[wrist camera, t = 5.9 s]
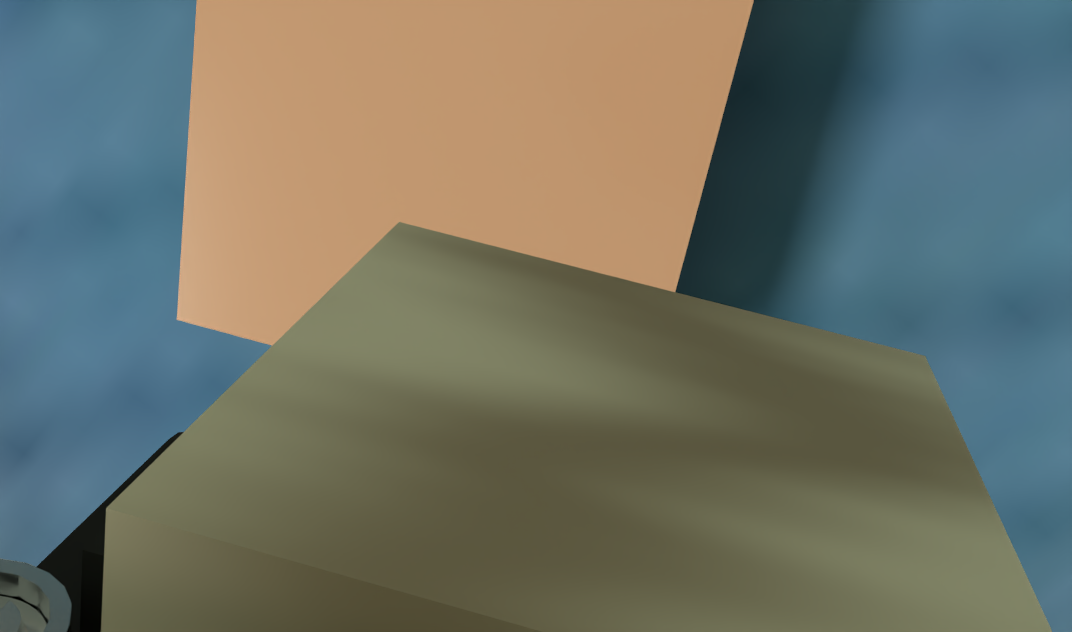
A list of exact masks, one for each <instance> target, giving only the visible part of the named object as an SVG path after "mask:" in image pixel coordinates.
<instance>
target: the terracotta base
mask: <svg viewBox="0 0 1072 632" xmlns="http://www.w3.org/2000/svg"><path fill="white" fill-rule="evenodd" d="M753 2H754V0H197V6H196V22H195V38H194V54H193V70H192V86H191V102H190V118H189V134H188V150H187V167H186V183H185V199H184V215H183V231H182V247H181V263H180V279H179V295H178V311H177V320H180V321H184V322H187V323H191V324H195V325H198V326H202V327H206V328H210V329H213V330H217V331H221V332H224V333H228V334H232V335H235V336H239V337H243V338H247V339H250V340H254V341H258V342H261V343H265V344H269V345H272V346H273V345H274V344H275V343H276V342H277V341H278V340H279V339H280V338H281V337H282V336H283V335H284V334H285V333H286V332H287V331H288V330H289V329H290V328H291V327H292V326H293V325H294V324H295V323H296V322H297V321H298V320H299V319H300V318H301V317H302V316H303V315H304V314H305V313H306V312H307V311H308V310H309V309H310V308H311V307H312V306H313V305H315V304H316V303H317V302H318V301H319V300H320V299H321V298H322V297H323V296H324V295H325V294H326V293H327V292H328V291H329V290H330V289H331V288H332V287H333V286H334V285H335V284H336V283H337V282H338V281H339V280H340V279H341V278H342V277H343V276H344V275H345V274H346V273H347V272H348V271H349V270H350V269H351V268H352V267H353V266H354V265H355V264H356V263H357V262H358V261H360V260H361V259H362V258H363V257H364V256H365V255H366V254H367V253H368V252H369V251H370V250H371V249H372V248H373V247H374V246H375V245H376V244H377V243H378V242H379V241H380V240H381V239H382V238H383V237H384V236H385V235H386V234H387V233H388V232H389V231H390V230H391V229H392V228H393V227H394V226H395V225H396V224H397V223H398V222H402V223H406V224H409V225H413V226H417V227H421V228H425V229H429V230H433V231H437V232H441V233H445V234H449V235H453V236H457V237H460V238H464V239H468V240H472V241H476V242H480V243H484V244H488V245H492V246H496V247H500V248H504V249H507V250H511V251H515V252H519V253H523V254H527V255H531V256H535V257H539V258H543V259H547V260H551V261H555V262H558V263H562V264H566V265H570V266H574V267H578V268H582V269H586V270H590V271H594V272H598V273H602V274H605V275H609V276H613V277H617V278H621V279H625V280H629V281H633V282H637V283H641V284H645V285H649V286H653V287H656V288H660V289H664V290H668V291H672V292H675V291H676V287H677V284H678V280H679V276H680V273H681V269H682V265H683V261H684V258H685V254H686V250H687V247H688V243H689V239H690V235H691V232H692V228H693V224H694V221H695V217H696V213H697V209H698V206H699V202H700V198H701V195H702V191H703V187H704V183H705V180H706V176H707V172H708V169H709V165H710V161H711V157H712V154H713V150H714V146H715V143H716V139H717V135H718V131H719V128H720V124H721V120H722V117H723V113H724V109H725V106H726V102H727V98H728V94H729V91H730V87H731V83H732V80H733V76H734V72H735V68H736V65H737V61H738V57H739V54H740V50H741V46H742V42H743V39H744V35H745V31H746V28H747V24H748V20H749V16H750V13H751V9H752V5H753Z"/></svg>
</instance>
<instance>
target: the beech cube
mask: <svg viewBox="0 0 1072 632" xmlns="http://www.w3.org/2000/svg"><path fill="white" fill-rule="evenodd" d="M101 632H1052V630H1051V628H1050V626H1049V624H1048V621H1047V619H1046V617H1045V615H1044V613H1043V611H1042V608H1041V606H1040V604H1039V602H1038V600H1037V598H1036V595H1035V593H1034V591H1033V589H1032V587H1031V585H1030V582H1029V580H1028V578H1027V576H1026V574H1025V572H1024V569H1023V567H1022V565H1021V563H1020V561H1019V559H1018V556H1017V554H1016V552H1015V550H1014V548H1013V546H1012V543H1011V541H1010V539H1009V537H1008V535H1007V533H1006V530H1005V528H1004V526H1003V524H1002V522H1001V520H1000V517H999V515H998V513H997V511H996V509H995V507H994V504H993V502H992V500H991V498H990V496H989V494H988V491H987V489H986V487H985V485H984V483H983V481H982V478H981V476H980V474H979V472H978V470H977V468H976V465H975V463H974V461H973V459H972V457H971V455H970V452H969V450H968V448H967V446H966V444H965V442H964V439H963V437H962V435H961V433H960V431H959V429H958V426H957V424H956V422H955V420H954V418H953V416H952V413H951V411H950V409H949V407H948V405H947V403H946V401H945V398H944V396H943V394H942V392H941V390H940V387H939V385H938V383H937V381H936V379H935V377H934V375H933V372H932V370H931V368H930V366H929V364H928V362H927V359H926V357H925V356H923V355H919V354H915V353H911V352H907V351H903V350H900V349H896V348H892V347H888V346H884V345H880V344H876V343H872V342H868V341H864V340H860V339H856V338H852V337H849V336H845V335H841V334H837V333H833V332H829V331H825V330H821V329H817V328H813V327H809V326H805V325H802V324H798V323H794V322H790V321H786V320H782V319H778V318H774V317H770V316H766V315H762V314H758V313H754V312H751V311H747V310H743V309H739V308H735V307H731V306H727V305H723V304H719V303H715V302H711V301H707V300H703V299H700V298H696V297H692V296H688V295H684V294H680V293H676V292H672V291H668V290H664V289H660V288H656V287H653V286H649V285H645V284H641V283H637V282H633V281H629V280H625V279H621V278H617V277H613V276H609V275H605V274H602V273H598V272H594V271H590V270H586V269H582V268H578V267H574V266H570V265H566V264H562V263H558V262H555V261H551V260H547V259H543V258H539V257H535V256H531V255H527V254H523V253H519V252H515V251H511V250H507V249H504V248H500V247H496V246H492V245H488V244H484V243H480V242H476V241H472V240H468V239H464V238H460V237H457V236H453V235H449V234H445V233H441V232H437V231H433V230H429V229H425V228H421V227H417V226H413V225H409V224H406V223H402V222H398V223H397V224H396V225H395V226H394V227H393V228H392V229H391V230H390V231H389V232H388V233H387V234H386V235H385V236H384V237H383V238H382V239H381V240H380V241H379V242H378V243H377V244H376V245H375V246H374V247H373V248H372V249H371V250H370V251H369V252H368V253H367V254H366V255H365V256H364V257H363V258H362V259H361V260H360V261H358V262H357V263H356V264H355V265H354V266H353V267H352V268H351V269H350V270H349V271H348V272H347V273H346V274H345V275H344V276H343V277H342V278H341V279H340V280H339V281H338V282H337V283H336V284H335V285H334V286H333V287H332V288H331V289H330V290H329V291H328V292H327V293H326V294H325V295H324V296H323V297H322V298H321V299H320V300H319V301H318V302H317V303H316V304H315V305H313V306H312V307H311V308H310V309H309V310H308V311H307V312H306V313H305V314H304V315H303V316H302V317H301V318H300V319H299V320H298V321H297V322H296V323H295V324H294V325H293V326H292V327H291V328H290V329H289V330H288V331H287V332H286V333H285V334H284V335H283V336H282V337H281V338H280V339H279V340H278V341H277V342H276V343H275V344H274V345H273V346H272V347H271V348H269V349H268V350H267V351H266V352H265V353H264V354H263V355H262V356H261V357H260V358H259V359H258V360H257V361H256V362H255V363H254V364H253V365H252V366H251V367H250V368H249V369H248V370H247V371H246V372H245V373H244V374H243V375H242V376H241V377H240V378H239V379H238V380H237V381H236V382H235V383H234V384H233V385H232V386H231V387H230V388H229V389H228V390H227V391H225V392H224V393H223V394H222V395H221V396H220V397H219V398H218V399H217V400H216V401H215V402H214V403H213V404H212V405H211V406H210V407H209V408H208V409H207V410H206V411H205V412H204V413H203V414H202V415H201V416H200V417H199V418H198V419H197V420H196V421H195V422H194V423H193V424H192V425H191V426H190V427H189V428H188V429H187V430H186V431H185V432H184V433H183V434H181V435H180V436H179V437H178V438H177V439H176V440H175V441H174V442H173V443H172V444H171V445H170V446H169V447H168V448H167V449H166V450H165V451H164V452H163V453H162V454H161V455H160V456H159V457H158V458H157V459H156V460H155V461H154V462H153V463H152V464H151V465H150V466H149V467H148V468H147V469H146V470H145V471H144V472H143V473H142V474H141V475H140V476H139V477H137V478H136V479H135V480H134V481H133V482H132V483H131V484H130V485H129V486H128V487H127V488H126V489H125V490H124V491H123V492H122V493H121V494H120V495H119V496H118V497H117V498H116V499H115V500H114V501H113V502H112V503H111V504H110V505H109V506H108V507H107V508H106V523H105V547H104V571H103V595H102V619H101Z"/></svg>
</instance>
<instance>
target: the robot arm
mask: <svg viewBox="0 0 1072 632" xmlns="http://www.w3.org/2000/svg"><path fill="white" fill-rule="evenodd" d="M183 433H184V432H179V433H177V434H176V435H174V436H173V437H171V438H170V439H169V440H168V441H167V442H166V443H164V444H163V445H162V446H161V447H160V448H159V449H158V450H157V451H156V452H155V453H154V454H153V455H152V456H151V457H150V458H149V459H148V460H147V461H146V462H145V463H144V464H143V465H142V466H141V467H140V468H139V469H138V470H136V471H135V472H134V473H133V474H132V475H131V476H130V477H129V478H128V479H127V480H126V481H125V482H124V483H123V484H122V485H121V486H120V487H119V488H118V489H117V490H116V491H115V492H114V493H113V494H112V495H111V496H110V497H108V498H107V499H106V500H105V501H104V502H103V503H102V504H101V505H100V506H99V507H98V508H97V509H96V510H95V511H94V512H93V513H92V514H91V515H90V516H89V517H88V518H87V519H86V520H85V521H84V522H83V523H81V524H80V525H79V526H78V527H77V528H76V529H75V530H74V531H73V532H72V533H71V534H70V535H69V536H68V537H67V538H66V539H65V540H64V541H63V542H62V543H61V544H60V545H59V546H58V547H57V548H56V549H55V550H53V551H52V552H51V553H50V554H49V555H48V556H47V557H46V558H45V559H44V560H43V561H42V562H41V563H40V564H39V565H38V566H37V567H35V566H32V565H30V564H27V563H23V562H17V561H11V560H4V559H0V632H101V619H102V595H103V571H104V547H105V523H106V508H107V507H108V506H109V505H110V504H111V503H112V502H113V501H114V500H115V499H116V498H117V497H118V496H119V495H120V494H121V493H122V492H123V491H124V490H125V489H126V488H127V487H128V486H129V485H130V484H131V483H132V482H133V481H134V480H135V479H136V478H137V477H139V476H140V475H141V474H142V473H143V472H144V471H145V470H146V469H147V468H148V467H149V466H150V465H151V464H152V463H153V462H154V461H155V460H156V459H157V458H158V457H159V456H160V455H161V454H162V453H163V452H164V451H165V450H166V449H167V448H168V447H169V446H170V445H171V444H172V443H173V442H174V441H175V440H176V439H177V438H178V437H179V436H180V435H181V434H183Z"/></svg>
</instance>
